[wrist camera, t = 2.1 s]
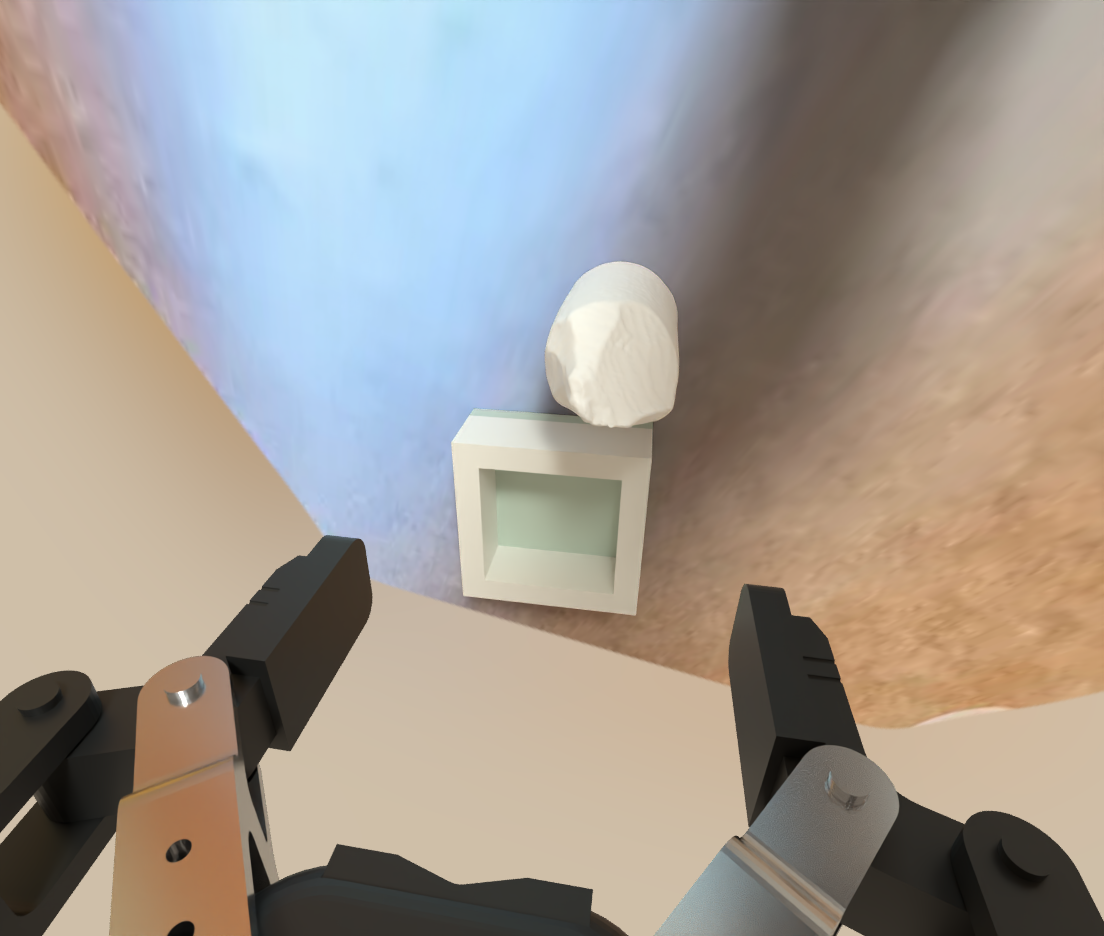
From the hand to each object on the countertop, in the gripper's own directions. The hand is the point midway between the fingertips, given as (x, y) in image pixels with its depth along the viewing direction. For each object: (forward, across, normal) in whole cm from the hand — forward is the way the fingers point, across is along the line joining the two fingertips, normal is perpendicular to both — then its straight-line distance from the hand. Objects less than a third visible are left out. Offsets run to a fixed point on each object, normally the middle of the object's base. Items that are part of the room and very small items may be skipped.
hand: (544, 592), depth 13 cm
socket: (+22, +2, +11) cm, 25 cm away
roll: (+22, 0, 0) cm, 23 cm away
